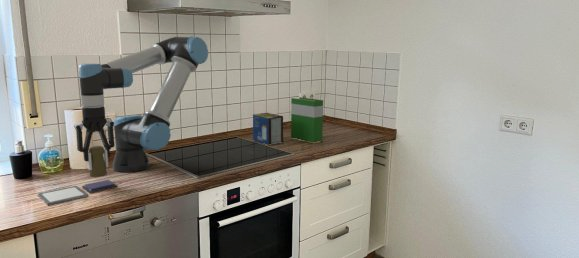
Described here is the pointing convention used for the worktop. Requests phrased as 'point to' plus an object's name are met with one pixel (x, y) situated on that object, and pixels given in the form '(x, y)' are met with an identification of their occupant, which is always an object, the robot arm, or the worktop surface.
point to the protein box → (267, 128)
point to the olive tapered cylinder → (97, 161)
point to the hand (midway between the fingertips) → (97, 167)
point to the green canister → (307, 119)
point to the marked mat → (62, 195)
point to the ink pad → (99, 186)
